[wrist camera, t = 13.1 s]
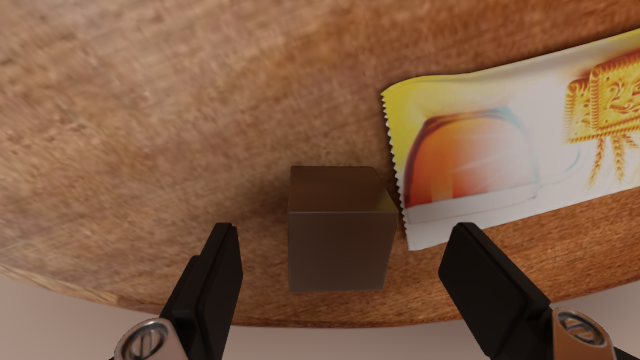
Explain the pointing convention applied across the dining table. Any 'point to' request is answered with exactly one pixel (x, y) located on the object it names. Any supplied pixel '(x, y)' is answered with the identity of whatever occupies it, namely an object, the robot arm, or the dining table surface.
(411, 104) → the food package
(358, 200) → the block
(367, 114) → the dining table surface
